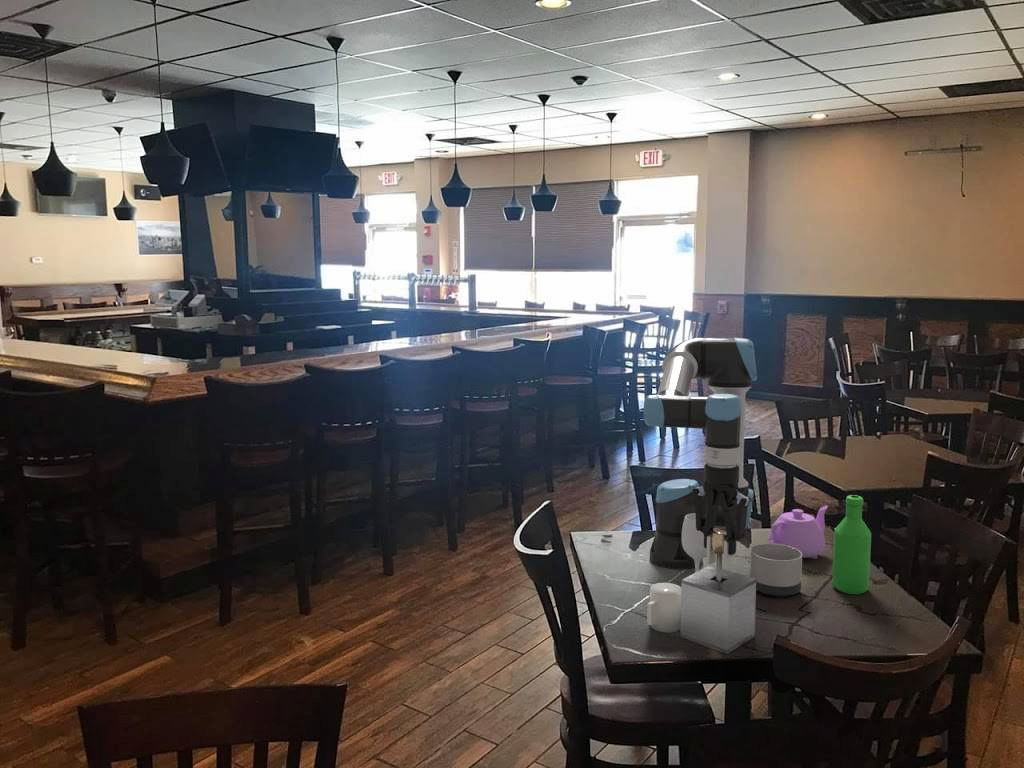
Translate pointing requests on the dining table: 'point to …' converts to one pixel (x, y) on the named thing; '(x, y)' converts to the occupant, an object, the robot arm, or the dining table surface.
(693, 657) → the dining table surface
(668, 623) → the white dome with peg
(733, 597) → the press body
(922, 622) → the dining table surface
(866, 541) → the bottle
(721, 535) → the plunger
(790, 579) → the planter
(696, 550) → the wineglass
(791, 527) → the teapot
